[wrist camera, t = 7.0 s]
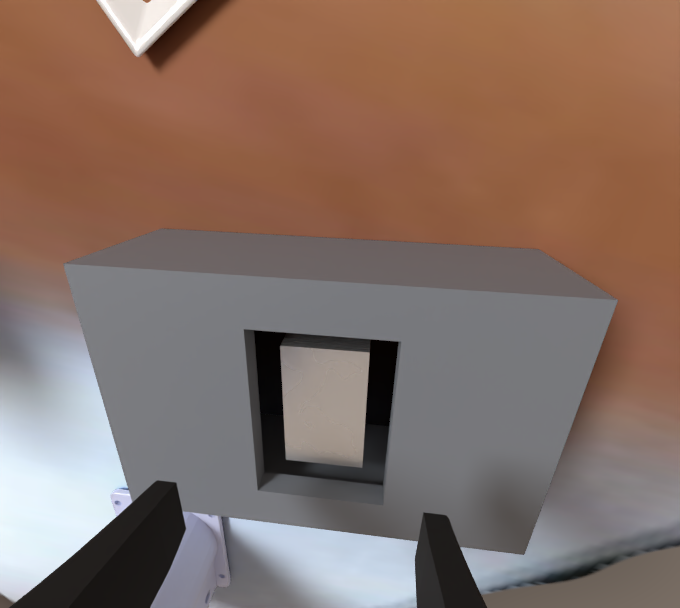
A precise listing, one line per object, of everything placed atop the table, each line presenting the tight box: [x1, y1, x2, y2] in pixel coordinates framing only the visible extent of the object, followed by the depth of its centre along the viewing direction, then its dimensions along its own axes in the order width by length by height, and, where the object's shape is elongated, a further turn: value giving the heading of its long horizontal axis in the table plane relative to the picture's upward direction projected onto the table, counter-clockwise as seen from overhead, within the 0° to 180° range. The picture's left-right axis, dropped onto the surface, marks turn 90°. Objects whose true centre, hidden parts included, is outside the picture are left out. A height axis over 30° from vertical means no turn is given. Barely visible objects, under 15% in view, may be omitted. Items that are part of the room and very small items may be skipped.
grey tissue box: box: [63, 229, 618, 555], centre depth 17 cm, size 12×18×6 cm, turn 88°
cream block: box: [280, 333, 371, 468], centre depth 17 cm, size 6×4×5 cm, turn 179°
